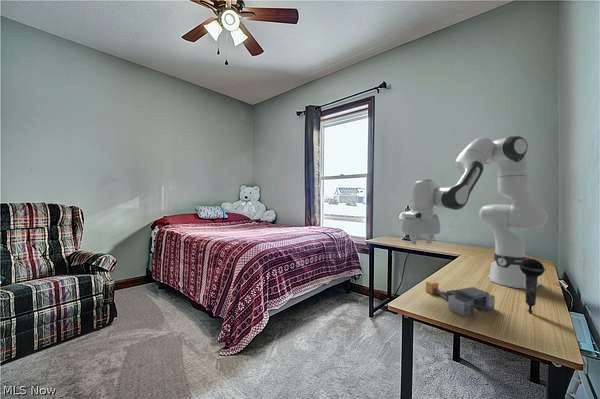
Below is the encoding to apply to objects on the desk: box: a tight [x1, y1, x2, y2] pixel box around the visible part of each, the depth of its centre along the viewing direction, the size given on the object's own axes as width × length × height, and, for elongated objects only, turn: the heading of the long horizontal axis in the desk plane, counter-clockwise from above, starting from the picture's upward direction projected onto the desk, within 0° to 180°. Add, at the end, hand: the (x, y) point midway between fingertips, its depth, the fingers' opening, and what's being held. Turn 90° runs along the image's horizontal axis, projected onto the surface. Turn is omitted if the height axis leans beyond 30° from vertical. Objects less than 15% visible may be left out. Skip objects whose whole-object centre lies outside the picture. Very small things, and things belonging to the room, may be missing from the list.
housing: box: [447, 286, 496, 318], centre depth 92 cm, size 17×6×7 cm, turn 112°
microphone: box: [519, 258, 546, 314], centre depth 90 cm, size 7×7×20 cm
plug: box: [425, 280, 456, 302], centre depth 102 cm, size 4×14×4 cm, turn 22°
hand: (421, 243), depth 113 cm, fingers open, 8 cm apart
